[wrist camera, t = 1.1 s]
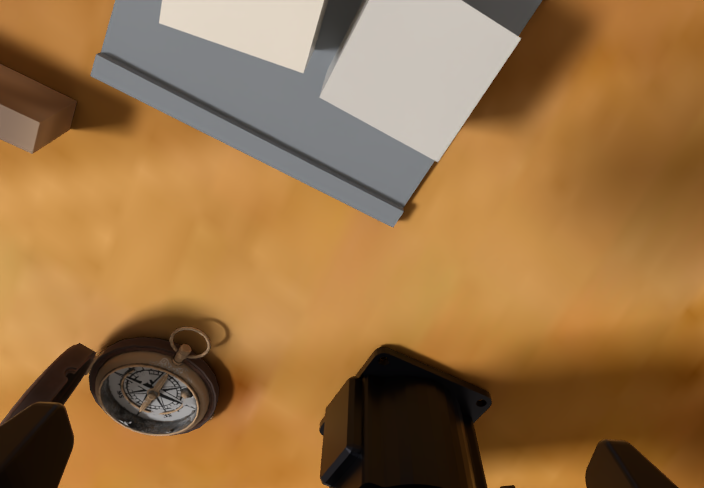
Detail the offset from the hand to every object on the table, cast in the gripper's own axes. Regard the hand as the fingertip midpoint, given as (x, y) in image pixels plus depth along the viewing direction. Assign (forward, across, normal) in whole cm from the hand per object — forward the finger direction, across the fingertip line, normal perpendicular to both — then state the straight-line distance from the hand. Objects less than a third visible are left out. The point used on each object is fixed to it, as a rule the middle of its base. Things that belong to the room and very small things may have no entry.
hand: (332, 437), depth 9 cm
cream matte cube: (+12, -2, -4) cm, 13 cm away
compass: (+13, +9, +11) cm, 19 cm away
